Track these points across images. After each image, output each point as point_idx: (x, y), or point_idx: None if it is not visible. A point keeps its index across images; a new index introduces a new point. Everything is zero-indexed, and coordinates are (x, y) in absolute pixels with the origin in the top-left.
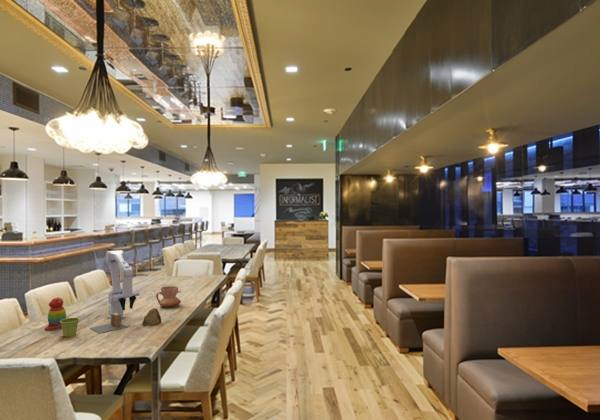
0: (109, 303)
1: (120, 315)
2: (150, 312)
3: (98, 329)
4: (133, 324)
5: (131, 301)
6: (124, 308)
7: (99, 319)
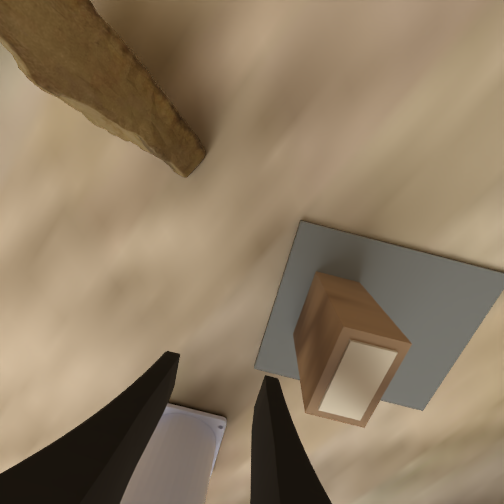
0: None
1: (351, 323)
2: (72, 17)
3: (437, 345)
4: (233, 234)
5: (113, 474)
6: (275, 394)
7: None
